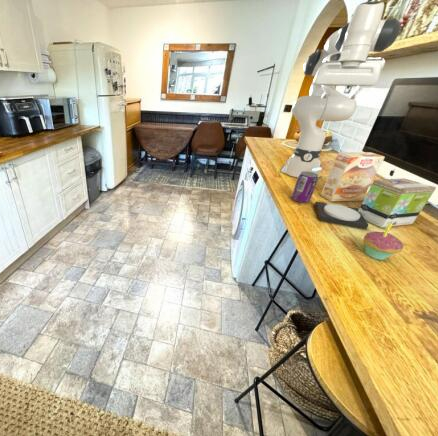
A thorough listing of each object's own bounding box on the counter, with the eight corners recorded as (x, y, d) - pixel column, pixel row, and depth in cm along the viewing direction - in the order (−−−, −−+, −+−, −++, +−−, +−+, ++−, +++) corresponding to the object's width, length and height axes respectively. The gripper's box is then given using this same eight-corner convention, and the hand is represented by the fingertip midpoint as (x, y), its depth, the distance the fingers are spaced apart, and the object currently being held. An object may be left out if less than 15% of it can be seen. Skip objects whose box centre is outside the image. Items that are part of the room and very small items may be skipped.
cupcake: (383, 267, 66) (407, 231, 60) (350, 249, 73) (369, 215, 67) (400, 259, 69) (424, 224, 63) (367, 243, 76) (386, 210, 70)
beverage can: (311, 204, 100) (322, 177, 94) (293, 203, 101) (303, 176, 95) (305, 197, 106) (315, 171, 100) (288, 196, 107) (297, 170, 101)
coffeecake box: (331, 201, 102) (351, 156, 92) (319, 195, 108) (337, 152, 99) (363, 200, 104) (386, 156, 94) (349, 194, 110) (370, 151, 100)
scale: (314, 205, 99) (316, 198, 98) (354, 212, 94) (358, 205, 93) (319, 220, 88) (322, 213, 87) (366, 229, 83) (370, 222, 82)
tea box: (382, 228, 83) (405, 189, 76) (354, 215, 92) (372, 179, 85) (413, 224, 87) (438, 186, 80) (383, 212, 95) (403, 176, 88)
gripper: (383, 58, 88) (367, 100, 93) (319, 59, 95) (307, 98, 101) (391, 54, 82) (373, 99, 88) (322, 56, 89) (309, 97, 95)
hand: (337, 98), depth 94 cm, fingers open, 8 cm apart
